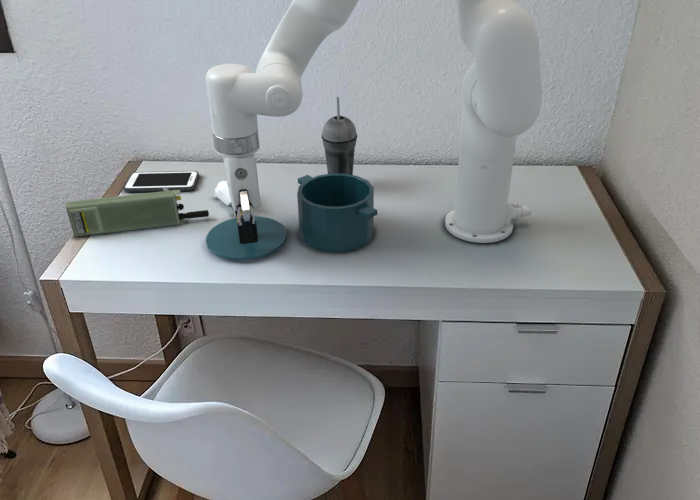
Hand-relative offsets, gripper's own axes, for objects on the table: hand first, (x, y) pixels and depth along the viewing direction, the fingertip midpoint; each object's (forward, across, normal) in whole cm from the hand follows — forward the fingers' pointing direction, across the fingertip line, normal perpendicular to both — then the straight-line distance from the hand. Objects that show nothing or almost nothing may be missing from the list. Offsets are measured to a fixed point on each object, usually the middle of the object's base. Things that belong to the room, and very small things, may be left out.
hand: (246, 228), depth 119 cm
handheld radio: (+3, +10, +19) cm, 22 cm away
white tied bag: (+3, +15, +2) cm, 15 cm away
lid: (+2, 0, 0) cm, 2 cm away
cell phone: (+3, +28, +16) cm, 32 cm away
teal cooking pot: (+3, -1, -16) cm, 17 cm away
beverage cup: (+3, +17, -21) cm, 27 cm away
